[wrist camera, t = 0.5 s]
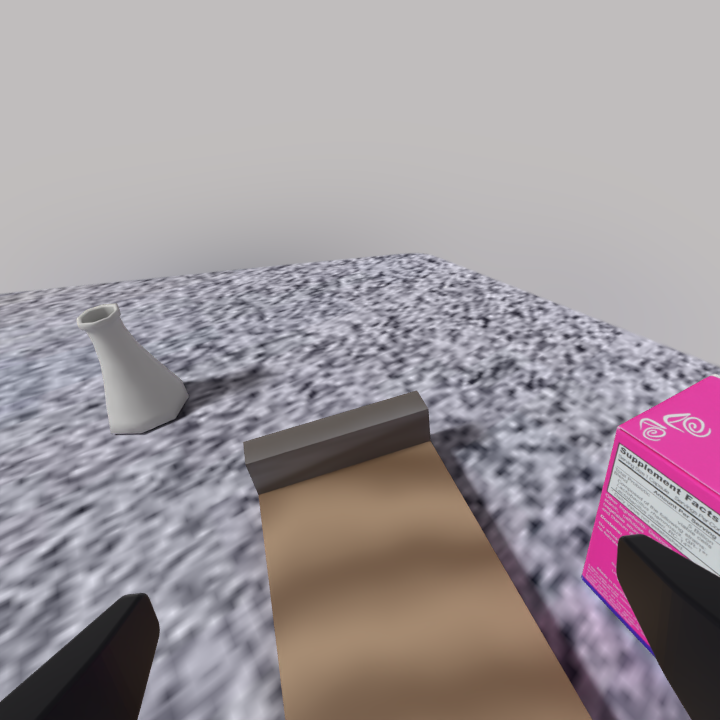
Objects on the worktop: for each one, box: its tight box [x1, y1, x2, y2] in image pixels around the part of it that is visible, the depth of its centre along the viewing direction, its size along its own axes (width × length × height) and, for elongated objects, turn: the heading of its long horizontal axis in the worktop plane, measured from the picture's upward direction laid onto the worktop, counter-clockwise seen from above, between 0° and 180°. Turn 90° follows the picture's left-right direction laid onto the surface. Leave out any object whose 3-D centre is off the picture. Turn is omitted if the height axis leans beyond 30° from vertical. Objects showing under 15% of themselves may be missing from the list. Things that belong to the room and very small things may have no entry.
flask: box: [77, 303, 189, 434], centre depth 38 cm, size 7×7×10 cm
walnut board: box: [243, 391, 592, 720], centre depth 23 cm, size 20×12×4 cm, turn 16°
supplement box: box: [581, 374, 720, 658], centre depth 19 cm, size 6×6×12 cm
